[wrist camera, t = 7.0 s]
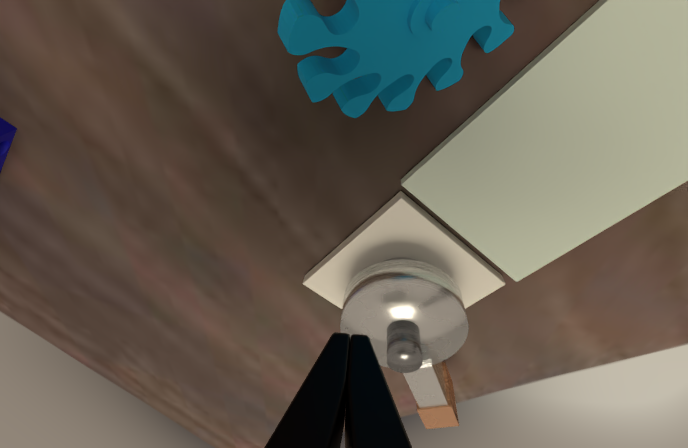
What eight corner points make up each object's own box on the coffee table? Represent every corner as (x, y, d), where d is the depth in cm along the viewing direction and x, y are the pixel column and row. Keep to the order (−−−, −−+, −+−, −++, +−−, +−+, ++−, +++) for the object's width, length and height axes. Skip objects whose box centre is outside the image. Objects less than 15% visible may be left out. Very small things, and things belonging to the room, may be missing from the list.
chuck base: (502, 275, 24) (512, 303, 22) (400, 338, 28) (401, 366, 26) (400, 190, 21) (402, 214, 19) (304, 275, 25) (298, 301, 23)
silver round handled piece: (486, 377, 27) (502, 444, 23) (391, 389, 29) (392, 454, 25) (446, 239, 20) (459, 303, 17) (327, 267, 22) (315, 330, 19)
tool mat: (783, 112, 17) (794, 116, 16) (513, 275, 24) (516, 282, 23) (676, -69, 14) (687, -71, 13) (400, 179, 21) (401, 184, 20)
